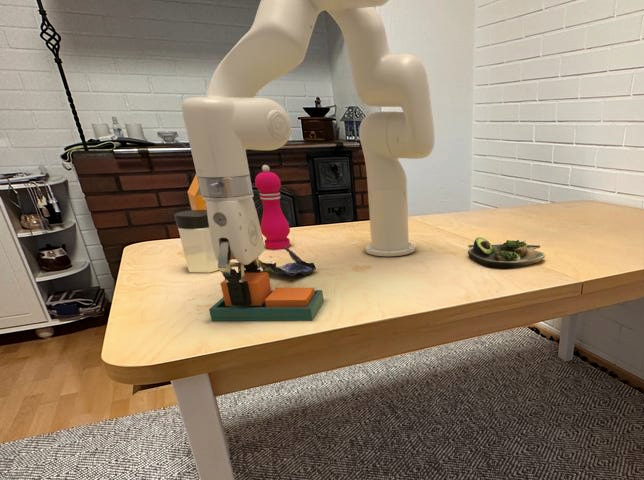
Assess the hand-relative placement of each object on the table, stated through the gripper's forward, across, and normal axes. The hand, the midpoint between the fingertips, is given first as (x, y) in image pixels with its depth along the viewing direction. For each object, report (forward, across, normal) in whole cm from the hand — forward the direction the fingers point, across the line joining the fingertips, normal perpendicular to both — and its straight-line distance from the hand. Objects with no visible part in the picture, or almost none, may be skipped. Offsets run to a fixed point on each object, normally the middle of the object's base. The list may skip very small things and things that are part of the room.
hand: (248, 296), depth 81 cm
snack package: (+3, +22, 0) cm, 22 cm away
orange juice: (+3, +40, +20) cm, 45 cm away
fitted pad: (+3, 0, -7) cm, 8 cm away
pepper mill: (+3, +47, +8) cm, 48 cm away
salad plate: (+3, +34, -50) cm, 60 cm away
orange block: (+1, 0, 0) cm, 1 cm away
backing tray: (+3, 0, -4) cm, 4 cm away
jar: (+3, +27, +18) cm, 33 cm away
